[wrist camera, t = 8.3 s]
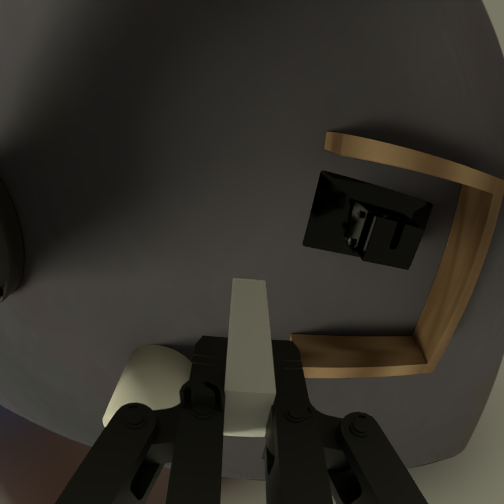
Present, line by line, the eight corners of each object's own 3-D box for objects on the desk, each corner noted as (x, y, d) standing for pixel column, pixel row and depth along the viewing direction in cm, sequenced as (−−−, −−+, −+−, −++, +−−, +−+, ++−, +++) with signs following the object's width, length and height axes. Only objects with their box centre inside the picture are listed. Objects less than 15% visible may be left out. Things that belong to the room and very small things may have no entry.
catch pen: (288, 344, 25) (292, 377, 22) (326, 131, 18) (343, 133, 15) (416, 345, 26) (432, 372, 22) (475, 170, 18) (506, 181, 15)
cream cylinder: (135, 386, 28) (113, 444, 21) (124, 339, 26) (93, 402, 18) (198, 396, 29) (186, 460, 21) (196, 350, 26) (180, 421, 18)
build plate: (444, 198, 20) (478, 216, 16) (415, 277, 23) (440, 306, 19) (302, 154, 19) (315, 163, 15) (278, 251, 22) (284, 283, 18)
